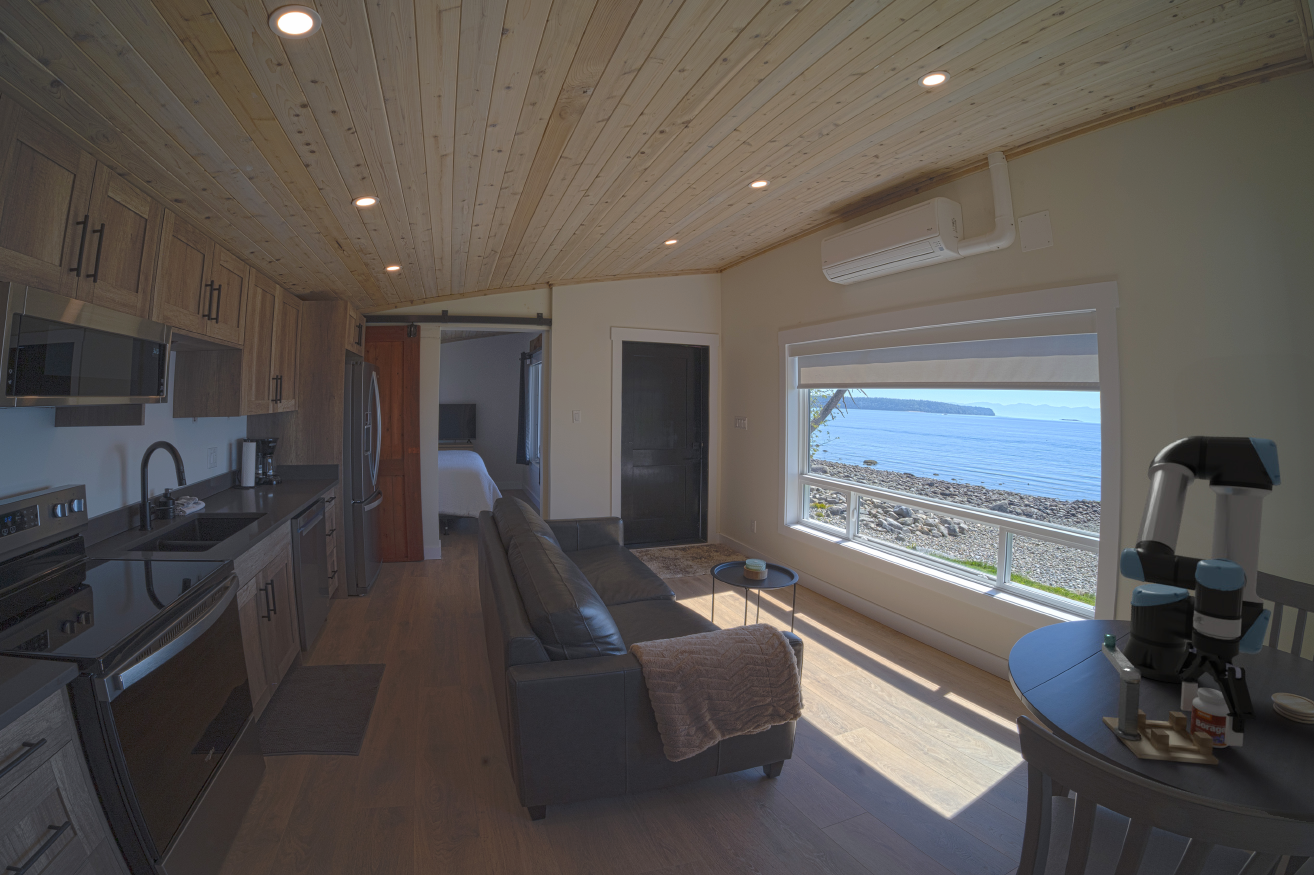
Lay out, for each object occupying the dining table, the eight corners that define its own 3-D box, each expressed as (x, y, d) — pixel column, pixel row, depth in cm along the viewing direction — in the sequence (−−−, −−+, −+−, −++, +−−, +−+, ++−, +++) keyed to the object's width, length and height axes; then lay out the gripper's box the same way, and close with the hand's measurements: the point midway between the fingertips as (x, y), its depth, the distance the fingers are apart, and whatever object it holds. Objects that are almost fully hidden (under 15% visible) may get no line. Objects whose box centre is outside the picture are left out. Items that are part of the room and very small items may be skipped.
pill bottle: (1190, 742, 131) (1193, 693, 130) (1189, 729, 135) (1192, 682, 134) (1229, 752, 127) (1232, 703, 126) (1227, 739, 131) (1230, 691, 130)
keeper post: (1133, 729, 134) (1135, 676, 133) (1146, 742, 129) (1149, 687, 128) (1109, 727, 135) (1111, 674, 134) (1121, 740, 130) (1124, 685, 129)
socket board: (1173, 726, 137) (1174, 707, 136) (1218, 764, 123) (1219, 744, 123) (1102, 720, 139) (1103, 702, 139) (1138, 757, 126) (1139, 737, 125)
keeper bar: (1143, 684, 129) (1144, 664, 128) (1123, 681, 130) (1124, 662, 130) (1116, 652, 143) (1117, 634, 143) (1098, 650, 145) (1099, 632, 144)
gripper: (1159, 610, 142) (1154, 696, 143) (1240, 657, 117) (1233, 759, 119) (1195, 612, 140) (1190, 698, 142) (1285, 659, 116) (1277, 763, 118)
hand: (1209, 726), depth 130 cm, fingers open, 13 cm apart
